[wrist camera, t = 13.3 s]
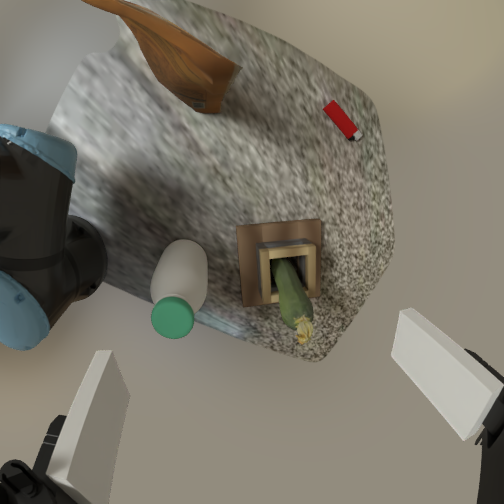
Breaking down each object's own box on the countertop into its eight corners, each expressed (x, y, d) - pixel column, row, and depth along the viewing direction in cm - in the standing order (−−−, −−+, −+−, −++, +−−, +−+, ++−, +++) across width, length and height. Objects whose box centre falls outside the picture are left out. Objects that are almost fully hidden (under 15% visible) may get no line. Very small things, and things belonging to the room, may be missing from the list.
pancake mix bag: (206, 137, 43) (205, 96, 16) (128, 65, 37) (56, -21, 10) (238, 109, 42) (280, 37, 16) (158, 38, 36) (119, -68, 10)
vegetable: (294, 261, 51) (334, 342, 33) (277, 277, 52) (308, 363, 34) (277, 246, 49) (313, 327, 31) (259, 264, 50) (284, 349, 32)
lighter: (334, 99, 43) (363, 134, 45) (332, 100, 44) (360, 135, 46) (324, 108, 43) (353, 144, 45) (321, 109, 44) (350, 144, 47)
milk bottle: (155, 245, 46) (125, 298, 27) (200, 232, 47) (195, 279, 28) (170, 287, 49) (152, 357, 30) (213, 275, 49) (217, 342, 30)
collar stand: (242, 303, 52) (247, 321, 45) (235, 225, 47) (240, 235, 41) (317, 293, 53) (330, 308, 47) (317, 218, 49) (332, 226, 43)
